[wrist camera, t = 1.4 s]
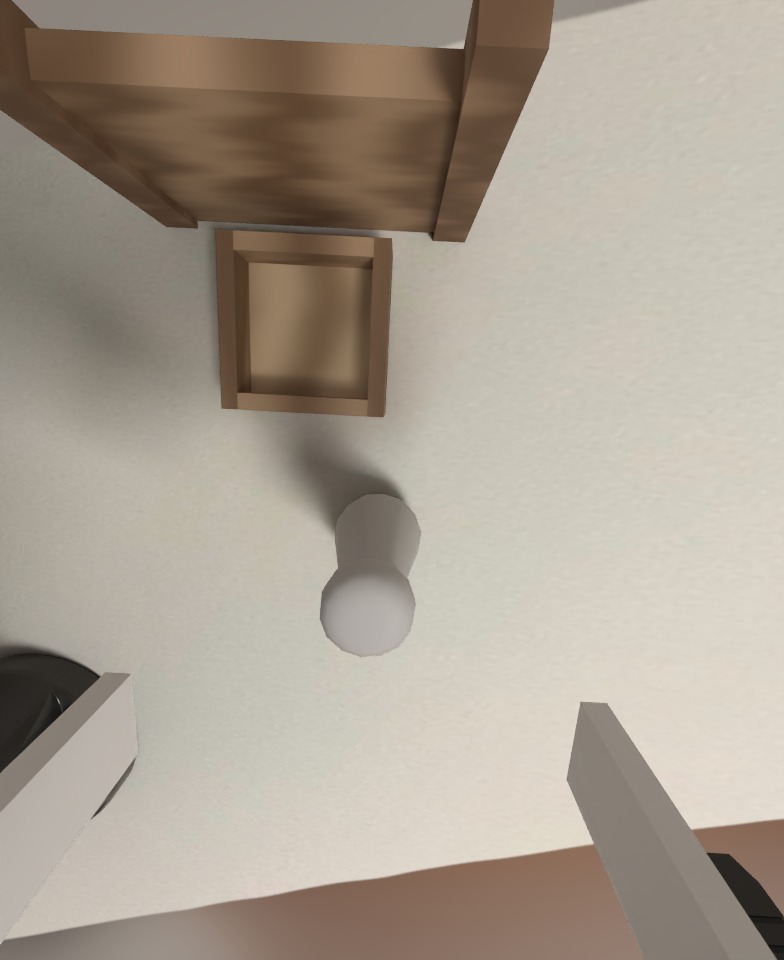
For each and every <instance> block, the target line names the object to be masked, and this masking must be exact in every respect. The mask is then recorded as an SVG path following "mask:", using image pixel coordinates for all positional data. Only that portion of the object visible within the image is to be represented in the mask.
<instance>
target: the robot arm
mask: <svg viewBox="0 0 784 960" xmlns="http://www.w3.org/2000/svg"><path fill="white" fill-rule="evenodd" d="M138 753H139V750H138V739H137V728H136V717H135V706H134V695H133V684H132V674H124V673H108V672H105V673H104V674H103V675H102V676H101V677H100V678H98V677H97V676H95V675H94V674H92V673H91V672H89V671H87V670H86V669H84V668H82V667H80V666H78V665H76V664H73V663H71V662H68V661H66V660H63V659H59V658H56V657H51V656H46V655H37V654H20V655H12V656H7V657H4V658H0V944H1V943H2V941H3V940H4V938H5V937H6V936H7V934H8V933H9V932H10V930H11V929H12V927H13V926H14V925H15V923H16V922H17V920H18V919H19V918H20V916H21V915H22V913H23V912H24V911H25V909H26V908H27V907H28V905H29V904H30V902H31V901H32V900H33V898H34V897H35V895H36V894H37V893H38V891H39V890H40V889H41V887H42V886H43V884H44V883H45V882H46V880H47V879H48V877H49V876H50V875H51V873H52V872H53V871H54V869H55V868H56V866H57V865H58V864H59V862H60V861H61V859H62V858H63V857H64V855H65V854H66V853H67V851H68V850H69V848H70V847H71V846H72V844H73V843H74V841H75V840H76V839H77V837H78V836H79V835H80V833H81V832H82V830H83V829H84V828H85V826H86V825H87V823H88V822H89V821H90V820H91V819H92V818H93V817H95V816H96V815H97V814H98V813H100V812H101V811H102V810H103V809H104V808H105V806H106V805H107V804H108V803H109V802H110V801H111V799H112V798H113V797H114V795H115V794H116V792H117V791H118V789H119V788H120V787H121V785H122V784H123V782H124V781H125V780H126V778H127V777H128V775H129V773H130V772H131V770H132V767H133V765H134V762H135V757H136V756H137V754H138ZM567 781H568V784H569V786H570V788H571V791H572V793H573V795H574V798H575V800H576V802H577V805H578V807H579V809H580V812H581V814H582V816H583V819H584V821H585V823H586V826H587V828H588V830H589V833H590V835H591V837H592V840H593V842H594V844H595V846H596V849H597V851H598V854H599V856H600V858H601V861H602V863H603V865H604V867H605V870H606V872H607V874H608V877H609V879H610V881H611V884H612V886H613V888H614V891H615V893H616V895H617V898H618V900H619V902H620V905H621V907H622V909H623V912H624V914H625V916H626V919H627V921H628V923H629V926H630V928H631V930H632V933H633V935H634V937H635V940H636V942H637V944H638V947H639V949H640V951H641V954H642V956H643V958H644V960H784V917H783V915H782V913H781V912H780V911H779V909H778V908H777V907H776V905H775V904H774V903H773V901H772V900H771V898H770V897H769V896H768V894H767V893H766V892H765V890H764V889H763V887H762V886H761V885H760V883H759V882H758V881H757V880H756V879H755V878H753V877H752V876H751V875H750V874H749V873H748V872H747V871H746V870H745V869H744V868H743V867H742V866H741V865H740V864H739V863H738V862H736V860H735V859H734V858H732V857H731V856H730V855H729V854H719V853H706V852H705V850H704V849H703V847H702V846H701V844H700V843H699V841H698V840H697V838H696V837H695V835H694V834H693V832H692V831H691V829H690V828H689V826H688V825H687V823H686V822H685V820H684V819H683V817H682V816H681V814H680V813H679V811H678V810H677V808H676V807H675V805H674V804H673V802H672V801H671V799H670V798H669V796H668V795H667V793H666V792H665V790H664V789H663V787H662V786H661V784H660V782H659V781H658V779H657V778H656V776H655V775H654V773H653V772H652V770H651V769H650V767H649V766H648V764H647V763H646V761H645V760H644V758H643V757H642V755H641V754H640V752H639V751H638V749H637V748H636V746H635V745H634V743H633V742H632V740H631V739H630V737H629V736H628V734H627V733H626V731H625V730H624V728H623V727H622V725H621V724H620V722H619V721H618V719H617V718H616V716H615V715H614V713H613V712H612V710H611V709H610V707H609V706H608V704H607V703H593V702H580V708H579V714H578V719H577V725H576V730H575V736H574V741H573V747H572V753H571V758H570V764H569V769H568V775H567Z"/></svg>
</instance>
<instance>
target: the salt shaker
mask: <svg viewBox="0 0 784 960" xmlns="http://www.w3.org/2000/svg"><path fill="white" fill-rule="evenodd" d="M420 536H421V530H420V528H419V525H418V522H417V519H416V516H415V514H414V513H413V512H412V510H411V509H410V508H409V507H408V506H407V505H406V504H405V503H404V502H403V501H402V500H400V499H398V498H395V497H392V496H389V495H386V494H370V495H364V496H362V497H360V498H359V499H357V500H356V501H354V502H352V503H351V504H349V505H347V507H346V508H345V510H344V511H343V512H342V514H341V515H340V517H339V518H338V520H337V522H336V534H335V544H336V553H337V562H338V569H337V570H336V571H335V573H334V574H333V576H332V577H331V578H330V580H329V581H328V583H327V584H326V586H325V587H324V589H323V591H322V598H321V608H320V620H321V623H322V626H323V628H324V631H325V633H326V636H327V637H328V638H329V639H330V640H331V641H332V642H333V643H334V644H335V645H336V646H338V647H339V648H340V649H341V650H343V651H345V652H348V653H351V654H354V655H357V656H360V657H366V656H379V655H383V654H385V653H387V652H389V651H391V650H393V649H395V648H397V647H399V646H400V644H401V643H402V642H403V640H404V639H405V637H406V636H407V635H408V633H409V632H410V630H411V626H412V622H413V616H414V611H415V605H416V604H415V598H414V595H413V592H412V589H411V587H410V584H409V581H408V579H407V577H408V575H409V572H410V570H411V567H412V565H413V562H414V560H415V557H416V555H417V552H418V548H419V542H420Z"/></svg>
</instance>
